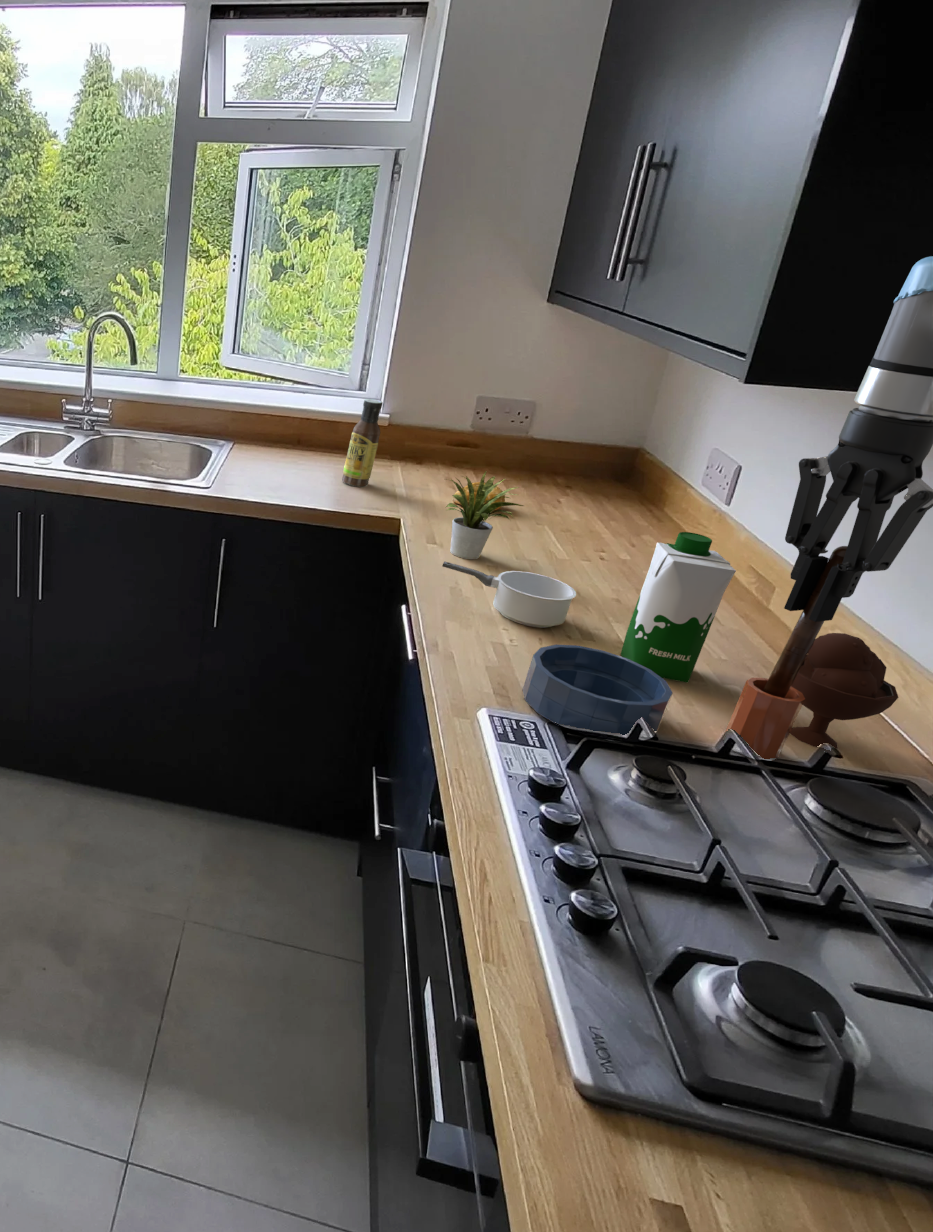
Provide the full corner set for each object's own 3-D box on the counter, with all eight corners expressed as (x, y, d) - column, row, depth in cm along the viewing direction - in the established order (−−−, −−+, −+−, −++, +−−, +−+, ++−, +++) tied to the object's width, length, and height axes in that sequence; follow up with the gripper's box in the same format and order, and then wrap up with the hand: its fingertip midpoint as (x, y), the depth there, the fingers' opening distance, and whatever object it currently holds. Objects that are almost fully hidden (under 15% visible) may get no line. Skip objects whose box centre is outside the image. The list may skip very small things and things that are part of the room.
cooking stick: (777, 722, 107) (866, 551, 99) (761, 720, 107) (848, 548, 99) (763, 712, 109) (849, 544, 101) (747, 710, 109) (831, 542, 101)
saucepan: (442, 582, 156) (450, 552, 154) (569, 614, 146) (579, 583, 144) (429, 603, 147) (436, 572, 144) (562, 638, 137) (573, 606, 135)
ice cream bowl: (851, 776, 107) (906, 666, 101) (745, 731, 115) (790, 627, 109) (878, 751, 113) (931, 646, 107) (775, 710, 121) (819, 610, 115)
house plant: (448, 569, 162) (470, 483, 155) (407, 542, 174) (426, 461, 168) (516, 569, 165) (541, 484, 158) (471, 542, 177) (493, 462, 171)
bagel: (444, 496, 206) (449, 476, 204) (492, 500, 206) (497, 480, 204) (460, 510, 197) (465, 489, 195) (510, 514, 196) (515, 493, 195)
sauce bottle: (335, 480, 212) (352, 397, 204) (355, 479, 214) (372, 396, 207) (354, 488, 206) (372, 403, 199) (374, 487, 209) (393, 402, 201)
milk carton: (676, 662, 132) (725, 536, 125) (696, 690, 124) (750, 558, 117) (611, 650, 135) (655, 526, 127) (627, 677, 127) (675, 546, 119)
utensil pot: (786, 766, 108) (816, 702, 104) (743, 764, 107) (771, 700, 104) (752, 740, 113) (779, 678, 109) (710, 738, 112) (736, 676, 109)
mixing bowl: (684, 749, 110) (701, 707, 107) (563, 744, 109) (577, 702, 106) (607, 685, 124) (621, 647, 122) (500, 681, 123) (511, 642, 121)
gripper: (1007, 430, 88) (902, 641, 97) (844, 397, 101) (765, 585, 111) (958, 431, 86) (856, 647, 95) (798, 396, 99) (722, 589, 108)
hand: (807, 613), depth 103 cm, fingers closed on cooking stick, 2 cm apart
